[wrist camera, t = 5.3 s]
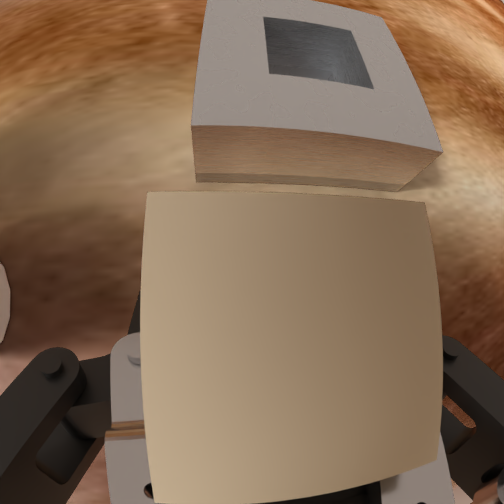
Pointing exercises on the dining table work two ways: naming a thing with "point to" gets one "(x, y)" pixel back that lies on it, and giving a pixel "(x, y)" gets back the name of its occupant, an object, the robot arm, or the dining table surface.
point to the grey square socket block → (306, 98)
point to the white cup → (4, 302)
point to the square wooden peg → (286, 344)
